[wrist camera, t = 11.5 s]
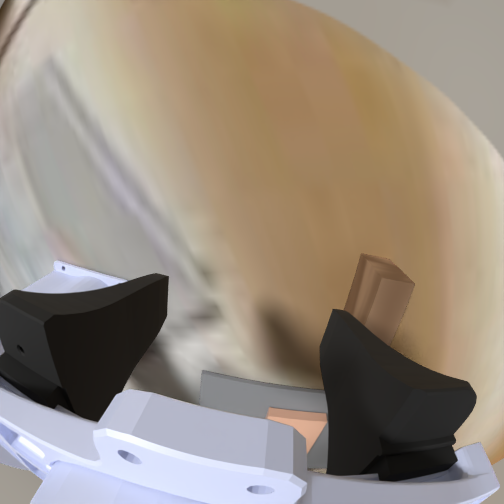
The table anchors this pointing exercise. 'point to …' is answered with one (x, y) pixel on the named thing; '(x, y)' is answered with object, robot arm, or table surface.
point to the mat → (265, 404)
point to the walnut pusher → (379, 296)
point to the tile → (300, 422)
